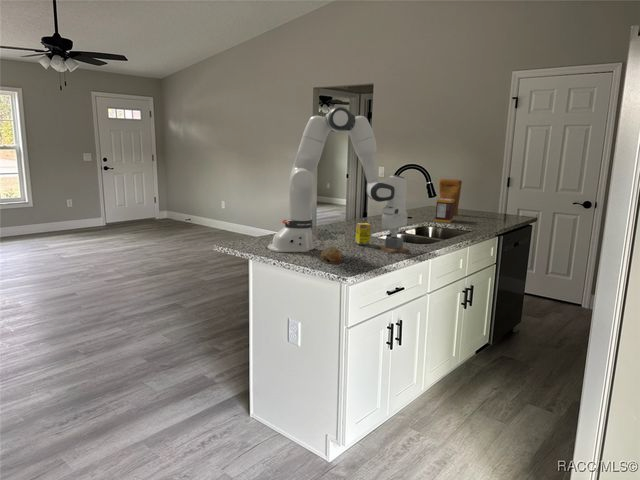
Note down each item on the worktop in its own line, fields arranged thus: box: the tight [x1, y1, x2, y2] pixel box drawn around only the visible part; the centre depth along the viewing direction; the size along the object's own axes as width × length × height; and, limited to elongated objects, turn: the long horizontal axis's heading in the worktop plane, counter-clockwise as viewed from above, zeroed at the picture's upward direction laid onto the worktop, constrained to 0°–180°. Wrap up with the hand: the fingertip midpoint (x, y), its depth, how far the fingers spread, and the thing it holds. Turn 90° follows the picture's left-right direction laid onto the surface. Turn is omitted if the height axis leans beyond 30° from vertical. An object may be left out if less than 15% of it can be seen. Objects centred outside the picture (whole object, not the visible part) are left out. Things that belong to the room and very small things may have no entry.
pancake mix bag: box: [437, 178, 463, 217], centre depth 361 cm, size 7×19×28 cm, turn 44°
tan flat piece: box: [378, 245, 410, 254], centre depth 229 cm, size 11×11×4 cm
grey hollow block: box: [384, 235, 404, 250], centre depth 228 cm, size 6×6×5 cm
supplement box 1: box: [355, 222, 372, 246], centre depth 239 cm, size 6×6×11 cm
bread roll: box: [320, 246, 344, 265], centre depth 202 cm, size 10×10×8 cm
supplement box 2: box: [434, 198, 455, 223], centre depth 331 cm, size 10×15×16 cm
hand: (394, 236), depth 228 cm, fingers closed
